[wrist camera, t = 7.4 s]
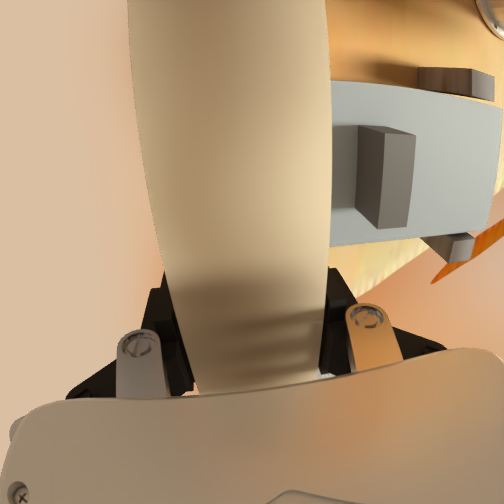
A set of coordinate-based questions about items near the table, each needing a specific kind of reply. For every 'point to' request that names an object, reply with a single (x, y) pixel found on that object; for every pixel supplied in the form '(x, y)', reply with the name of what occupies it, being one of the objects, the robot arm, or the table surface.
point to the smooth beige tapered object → (238, 179)
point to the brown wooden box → (463, 85)
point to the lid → (409, 163)
